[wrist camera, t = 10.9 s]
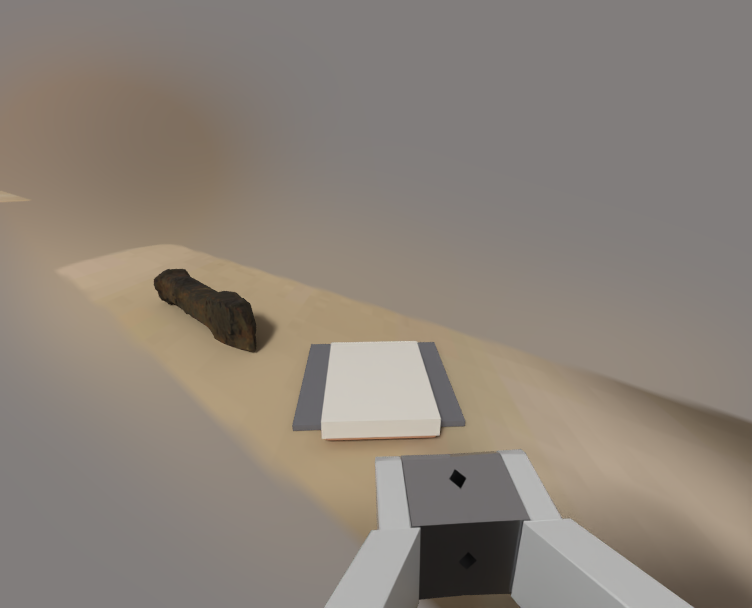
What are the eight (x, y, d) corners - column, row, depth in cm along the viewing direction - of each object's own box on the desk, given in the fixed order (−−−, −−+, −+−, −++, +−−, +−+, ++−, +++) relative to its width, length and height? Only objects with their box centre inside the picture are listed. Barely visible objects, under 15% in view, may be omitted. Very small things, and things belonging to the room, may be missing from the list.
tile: (439, 439, 24) (416, 357, 33) (440, 418, 23) (416, 341, 32) (322, 442, 23) (331, 358, 33) (321, 422, 23) (331, 342, 32)
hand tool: (157, 304, 46) (148, 265, 44) (193, 295, 48) (186, 259, 46) (224, 368, 33) (215, 317, 31) (268, 352, 35) (262, 303, 33)
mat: (433, 346, 36) (433, 342, 35) (464, 425, 25) (465, 421, 25) (311, 348, 35) (311, 344, 35) (292, 430, 25) (292, 425, 25)
